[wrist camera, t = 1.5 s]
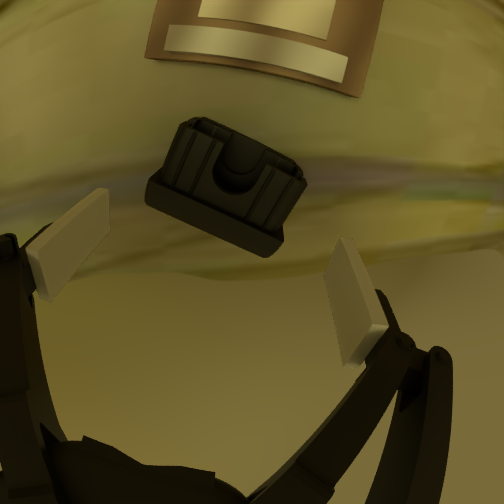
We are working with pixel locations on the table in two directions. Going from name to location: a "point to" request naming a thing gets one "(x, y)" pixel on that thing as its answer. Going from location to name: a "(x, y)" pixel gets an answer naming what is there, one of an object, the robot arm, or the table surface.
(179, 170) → the black notched block
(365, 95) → the table surface
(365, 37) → the display riser
